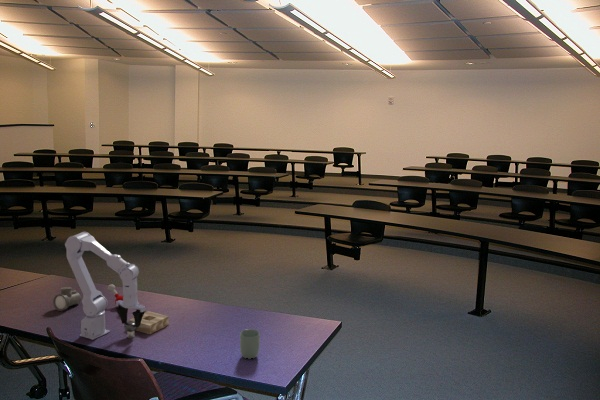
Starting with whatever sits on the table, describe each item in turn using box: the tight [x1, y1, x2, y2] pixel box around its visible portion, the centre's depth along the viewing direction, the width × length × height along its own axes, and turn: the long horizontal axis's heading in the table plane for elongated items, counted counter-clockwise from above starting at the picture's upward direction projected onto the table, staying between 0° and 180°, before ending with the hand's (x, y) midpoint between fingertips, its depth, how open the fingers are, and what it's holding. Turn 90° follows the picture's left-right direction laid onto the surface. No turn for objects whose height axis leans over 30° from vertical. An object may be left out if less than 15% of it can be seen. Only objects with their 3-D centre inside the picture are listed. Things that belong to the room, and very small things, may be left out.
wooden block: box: [128, 310, 170, 335], centre depth 236 cm, size 12×12×4 cm
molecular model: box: [107, 284, 123, 305], centre depth 258 cm, size 18×6×10 cm, turn 62°
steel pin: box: [123, 320, 138, 339], centre depth 225 cm, size 5×5×6 cm
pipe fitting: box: [52, 286, 82, 312], centre depth 256 cm, size 12×8×10 cm
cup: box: [239, 328, 261, 360], centre depth 210 cm, size 8×8×10 cm
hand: (131, 324), depth 225 cm, fingers open, 7 cm apart
